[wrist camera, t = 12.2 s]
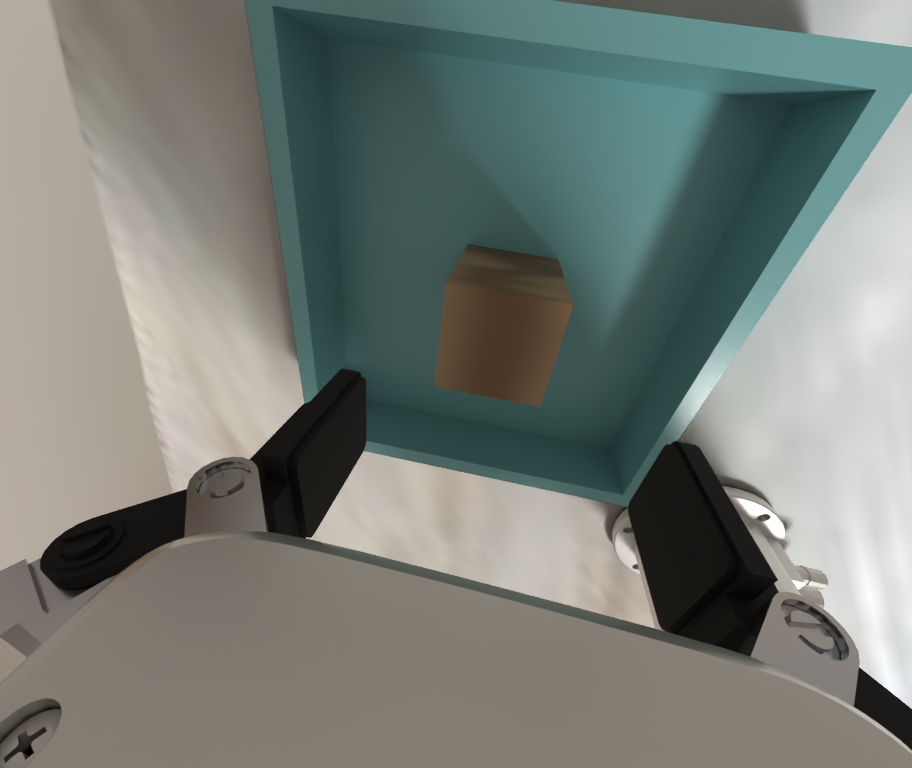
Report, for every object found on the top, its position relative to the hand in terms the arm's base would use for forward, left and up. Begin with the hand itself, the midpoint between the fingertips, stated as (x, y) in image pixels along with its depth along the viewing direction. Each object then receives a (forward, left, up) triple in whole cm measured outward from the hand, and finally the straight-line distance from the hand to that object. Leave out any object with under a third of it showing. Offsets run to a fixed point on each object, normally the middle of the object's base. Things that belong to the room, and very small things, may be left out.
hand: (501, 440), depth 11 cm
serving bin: (+1, -1, -13) cm, 13 cm away
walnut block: (+1, -1, -12) cm, 12 cm away
